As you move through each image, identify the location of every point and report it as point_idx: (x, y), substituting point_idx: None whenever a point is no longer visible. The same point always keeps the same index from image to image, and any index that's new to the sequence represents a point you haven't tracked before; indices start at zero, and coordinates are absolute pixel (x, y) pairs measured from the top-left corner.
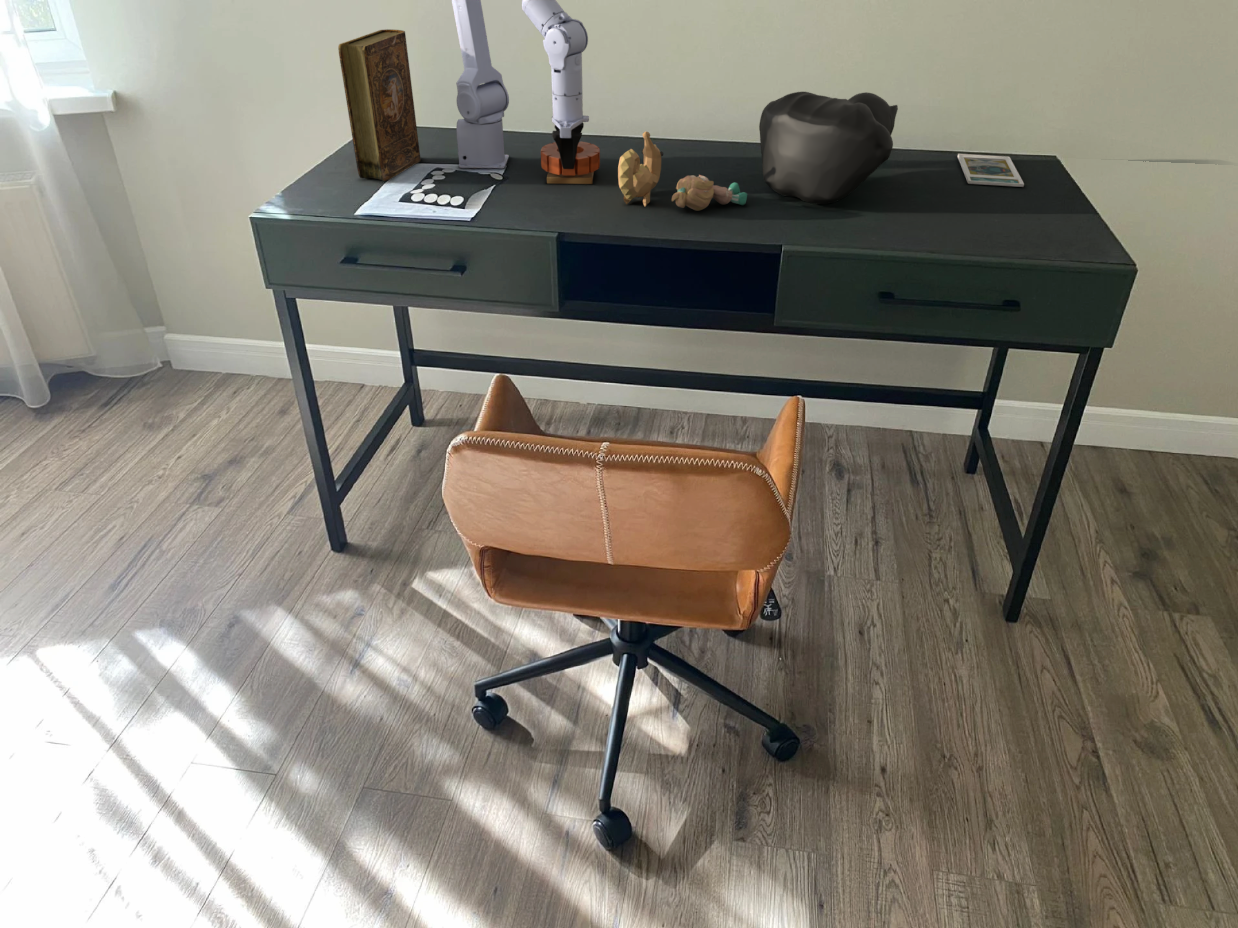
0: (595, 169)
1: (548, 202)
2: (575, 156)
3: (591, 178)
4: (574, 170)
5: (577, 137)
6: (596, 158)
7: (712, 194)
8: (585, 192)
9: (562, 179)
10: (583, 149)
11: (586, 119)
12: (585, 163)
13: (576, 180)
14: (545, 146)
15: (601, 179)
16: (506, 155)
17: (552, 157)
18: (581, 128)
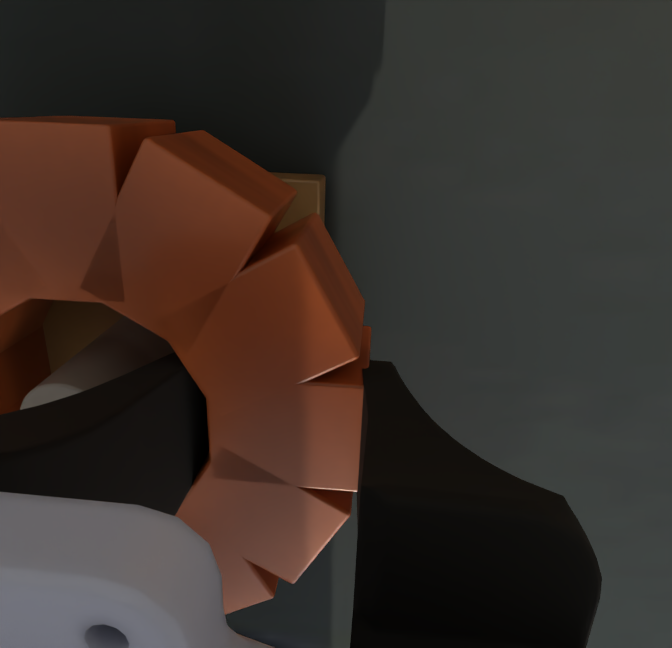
0: (240, 156)
1: (668, 460)
2: (413, 402)
3: (318, 186)
4: (367, 346)
5: (593, 565)
6: (196, 154)
7: None
8: (503, 226)
9: None
10: (28, 298)
11: (188, 627)
12: (322, 266)
13: None
14: None
15: (205, 98)
16: None
17: (312, 560)
18: (5, 474)
